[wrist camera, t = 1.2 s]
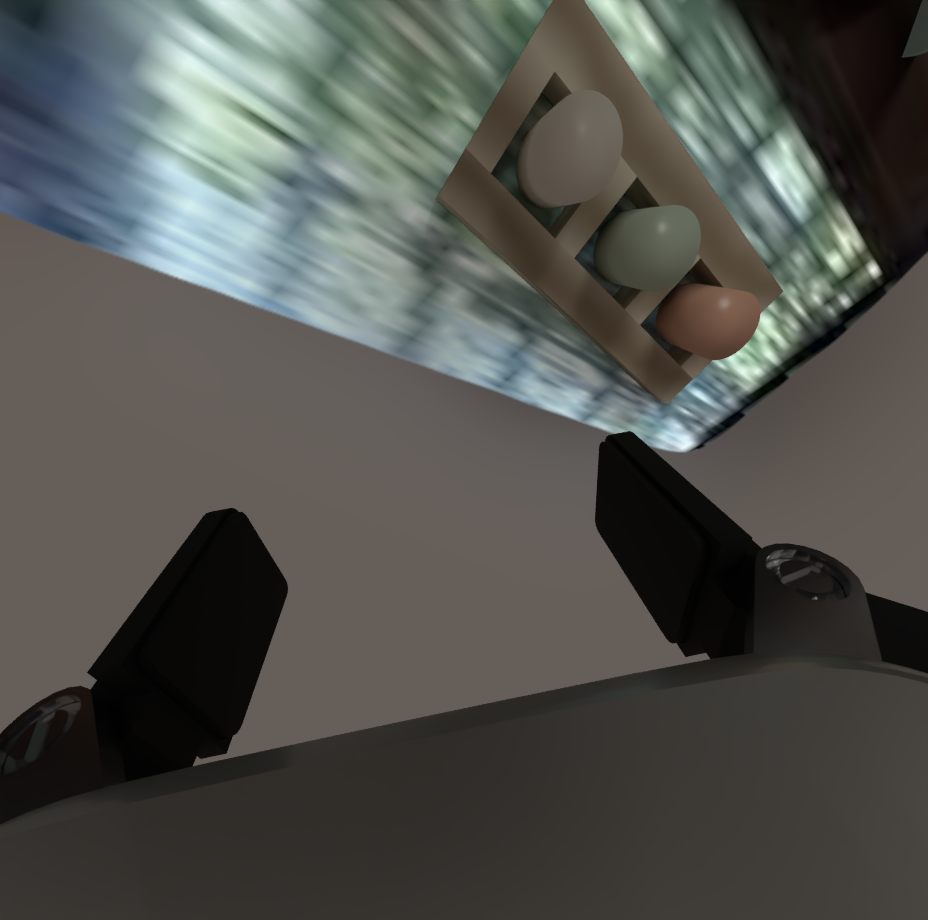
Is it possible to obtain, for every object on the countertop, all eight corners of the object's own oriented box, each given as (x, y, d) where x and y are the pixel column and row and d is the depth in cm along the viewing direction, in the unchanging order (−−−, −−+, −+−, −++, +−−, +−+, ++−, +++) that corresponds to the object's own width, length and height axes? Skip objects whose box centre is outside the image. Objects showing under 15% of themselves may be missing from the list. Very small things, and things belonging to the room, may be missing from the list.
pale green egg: (629, 193, 26) (672, 184, 21) (668, 241, 28) (715, 242, 23) (581, 255, 27) (611, 259, 23) (620, 296, 29) (656, 307, 25)
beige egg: (550, 95, 23) (582, 62, 18) (600, 157, 24) (640, 140, 20) (501, 172, 24) (520, 159, 20) (551, 224, 26) (578, 222, 22)
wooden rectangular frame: (549, 6, 22) (567, -24, 20) (754, 287, 32) (783, 291, 30) (435, 199, 26) (438, 195, 24) (648, 392, 37) (666, 404, 34)
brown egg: (691, 269, 29) (739, 275, 25) (722, 307, 31) (772, 319, 27) (644, 321, 31) (682, 335, 26) (676, 354, 33) (716, 372, 28)
